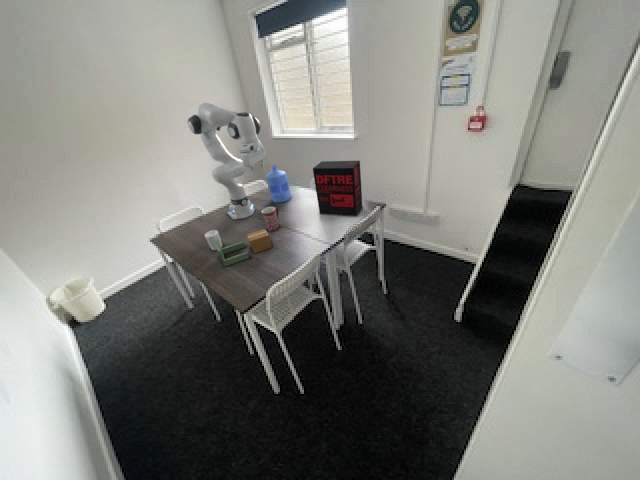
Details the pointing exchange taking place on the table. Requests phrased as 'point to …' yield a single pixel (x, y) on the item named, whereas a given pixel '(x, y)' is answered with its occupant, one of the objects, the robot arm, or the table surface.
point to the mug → (271, 218)
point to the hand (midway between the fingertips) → (258, 169)
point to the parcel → (259, 240)
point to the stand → (230, 249)
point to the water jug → (278, 185)
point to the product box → (338, 187)
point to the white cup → (213, 239)
